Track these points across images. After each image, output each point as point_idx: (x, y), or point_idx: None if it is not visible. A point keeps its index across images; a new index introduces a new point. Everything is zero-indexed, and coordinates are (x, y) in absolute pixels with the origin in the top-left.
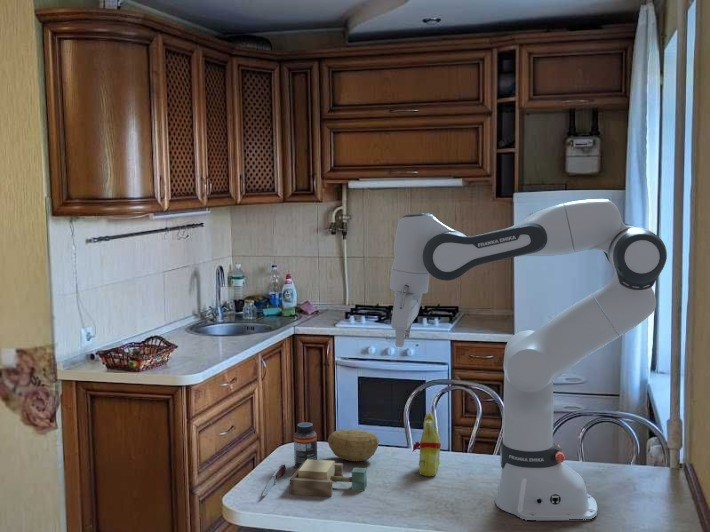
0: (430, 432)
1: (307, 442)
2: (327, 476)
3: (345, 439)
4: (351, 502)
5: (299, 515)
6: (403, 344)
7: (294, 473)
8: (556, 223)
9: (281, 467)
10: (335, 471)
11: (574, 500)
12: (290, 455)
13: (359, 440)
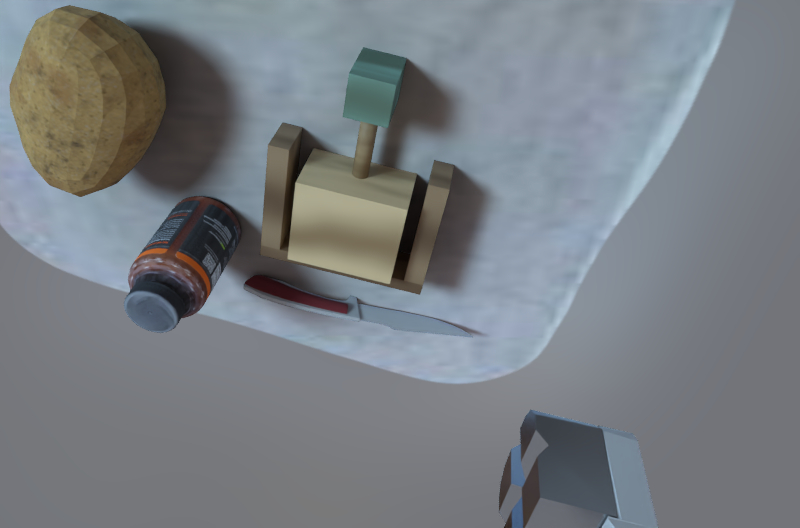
0: None
1: (207, 274)
2: (403, 198)
3: (117, 149)
4: (506, 106)
5: (584, 249)
6: (594, 436)
7: (369, 281)
8: None
9: (283, 298)
10: (293, 157)
11: None
12: (125, 258)
13: (120, 99)
